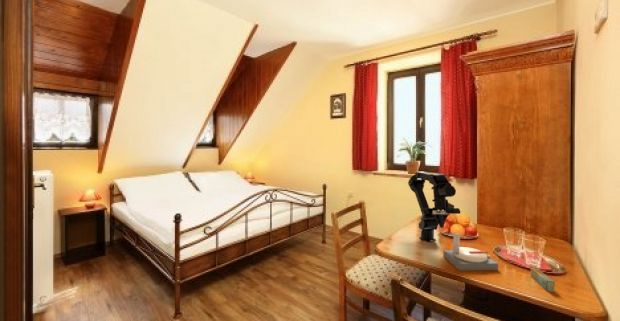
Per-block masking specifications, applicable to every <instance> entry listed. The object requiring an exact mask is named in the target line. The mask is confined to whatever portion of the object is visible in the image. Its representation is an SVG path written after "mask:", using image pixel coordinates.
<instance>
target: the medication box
mask: <svg viewBox="0 0 620 321" xmlns="http://www.w3.org/2000/svg"><path fill="white" fill-rule="evenodd" d="M530 278H531V279H533V280H534V281H535V282H536V283H537V284H538V285H539V286H540V287H541V288H542V289H544V290H545V291H546V292H552V293H554V292H555V287H556V286H555V285H556V282H555V281H554V280H553V279H552V278H550V277H549V276H548V275H546V274H545V273H544V272H543V271H542V270H540V269H539V268H534V267H532V268H531V269H530Z"/></svg>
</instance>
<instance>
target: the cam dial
mask: <svg viewBox="0 0 620 321" xmlns="http://www.w3.org/2000/svg"><path fill="white" fill-rule="evenodd" d="M452 241H453V242H452V244H453V245H452V250H453V255H454V256H455V257H456V258H458V259H461V260H464V261H468V262H474V263H482V262H485V261H487V255H488V254H487V253H489V252H488V250H479V249H478V248H477V249H476V248H472V247H469V246H468V247H465V246H460V245H461V244H460V242H461V233H458V232H454V233H453V240H452ZM485 253H486V254H485Z"/></svg>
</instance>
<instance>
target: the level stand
mask: <svg viewBox="0 0 620 321" xmlns="http://www.w3.org/2000/svg"><path fill="white" fill-rule="evenodd" d="M485 254H487V253H485ZM443 257H444V258H445V259H446V260H447V261H448V262H449V263H450V264H452V265H453V266H454V267H455V268H456V269H457V270H459V271H498V270H499V263H498V262H497V261H495V260H493V259H492V258H491V255H490V254H487V261H485V262H482V263H474V262H468V261H464V260H461V259H458V258H456V257H455V256H454V255H453V249H444V250H443Z"/></svg>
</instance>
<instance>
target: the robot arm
mask: <svg viewBox="0 0 620 321" xmlns="http://www.w3.org/2000/svg"><path fill="white" fill-rule="evenodd" d="M426 181H427V182H428V183H429V184H431V185H432V187H431V190H433V191H432V193H433V199H431V200H432V202H433V203H434V204H433V207H430V205H429V203H428V201H427V198H426V196H425V193H424V187H425V183H426ZM407 185H408V186H409V189H410V190H411V191H412V192H413V193H414V195H415V198H416V200H417V204H418V206H419V210H420V211H421V217H420V221H419V223H418V228H419V229H420V230H421V231H420V237H419V239H420V240H423V241H425V242H428V243H429V242H433V241H436V240H437V239H436V238H434V237H435V236H434V235H435V231H437V230H438V227H440V228H441V229H444V226H445V223H446V221H447V218H448V217H449V216H451V215H454V214H455V215H457V214H459V215H460V214H461V210H460V208H458V207H455V205H454V204H452V203H450V202H449V201H448V199H447V198H452V197H454V196H455V195H457V192H456V188H455V187H454V186H453V185H452V183H451V182H450V181H449V180H448V178H447V177H446V175H445V174H444V173H430V172H426V171H416V172H415V173H414V174H413V175H412V176H411V177H410V178H409V179H408V182H407Z"/></svg>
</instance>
